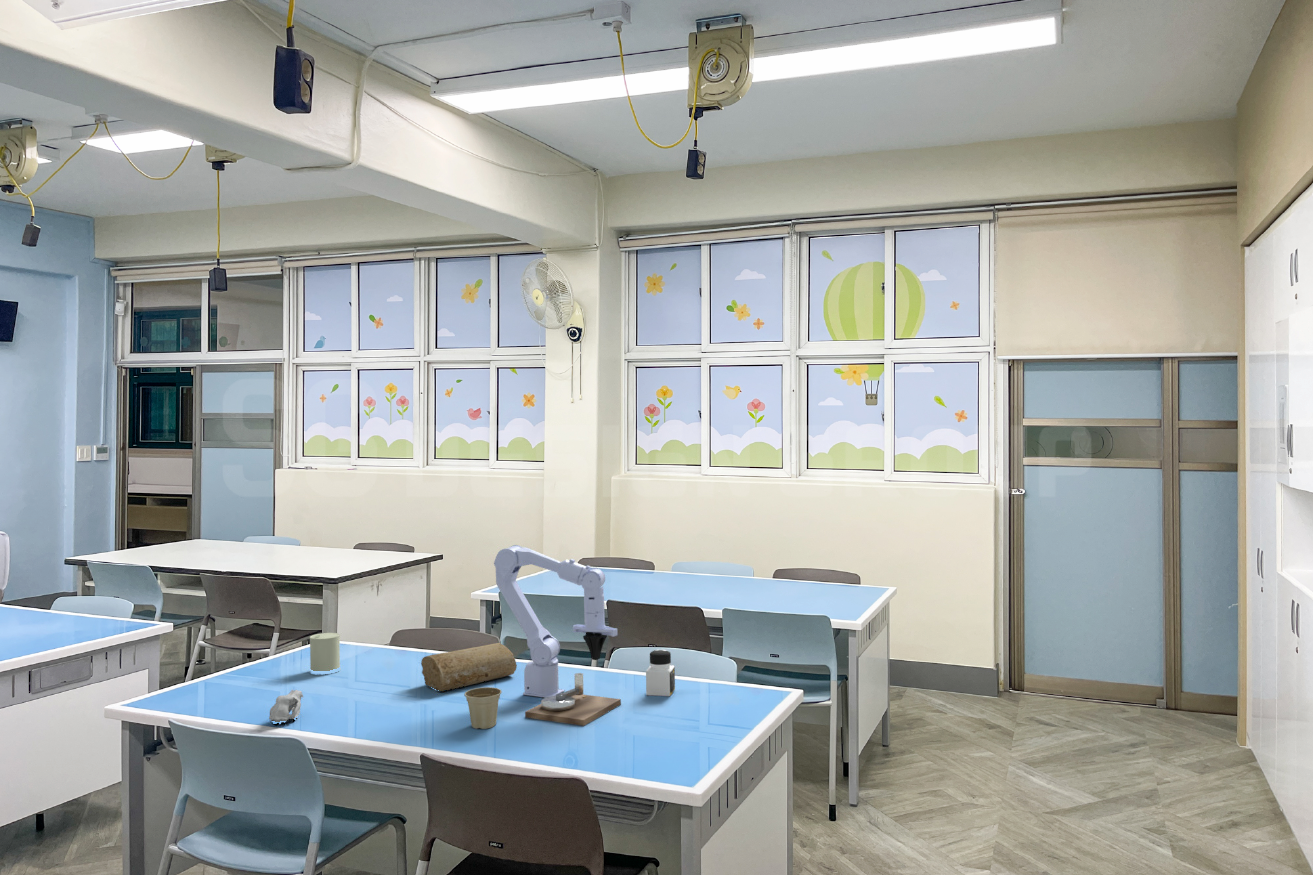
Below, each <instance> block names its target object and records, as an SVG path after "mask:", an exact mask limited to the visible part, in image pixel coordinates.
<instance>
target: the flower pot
mask: <svg viewBox="0 0 1313 875" xmlns="http://www.w3.org/2000/svg"><path fill="white" fill-rule="evenodd" d="M502 693H503V692H502V689H501V688H497V687H475V688H471V689H469V690H468V689H467V691H465V692H464V693H463V694H464V697H465V699H466V702H467V706H468V711H469V718H470V724H471V728H473V729H477V730H478V729H482V730H487V729H491V728H493V727H495V725H497V718H498V708H499V700H500V698H501V695H502Z"/></svg>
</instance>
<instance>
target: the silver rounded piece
mask: <svg viewBox="0 0 1313 875" xmlns="http://www.w3.org/2000/svg"><path fill="white" fill-rule="evenodd" d="M583 694H584V673H582V672H578V673H577V672H576V673H574V688H572V689H569V690H567V691H566V690H565V691H564V692H562V693H560V694H556V696H550V697H546V698H544V697H543V698H542V699H541V701H540V704H541V708H542V709H544V710H549V711H562V710H568V709H571V708H573V707H574V706H575V699H574V698H573V697H571V696H574V695H583Z"/></svg>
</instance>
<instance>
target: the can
mask: <svg viewBox="0 0 1313 875" xmlns="http://www.w3.org/2000/svg"><path fill="white" fill-rule="evenodd" d="M340 636H341V635H340V633H338V632H337V633H336V632H322V633H317V634H313V635H311V636H309V653H310V657H309V658H310V663H309V664H310V665H309V666H310V669H311V670H313V671H330V670H333V669H337V668H339V667H340V668H341V662H340V661H341V660H340V658H341V656H340V655H341V654H340V651H341V650H340V648H341V646H340V644H341V643H340V638H341V637H340Z"/></svg>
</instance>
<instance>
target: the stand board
mask: <svg viewBox="0 0 1313 875" xmlns="http://www.w3.org/2000/svg"><path fill="white" fill-rule="evenodd" d="M571 697H573V698H574V699H575V706H574V707H573V708H571V709H568V710H562V711H549V710H544V709H542V708H541V703H540V704H538V705H536V706H533V707H532V708H530V709H527V710H526V711H525V712H524V717H525V718H527V719H534V720H542V721H548V722H555V723H563V724H569V725H576V726H582V727H583V726H586V725H588V724H590V723H591V722H593V721H595V720H597V719H598V718H600V717H602V716H603V715H605V714H607V713H609V712H610V711H612V710H614V709H617V706H618V707H619V706H621V705H622V699H620V698H614V697H606V696H598V695H590V694H584V693H583V695H574V696H571ZM608 711H609V712H608Z"/></svg>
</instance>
